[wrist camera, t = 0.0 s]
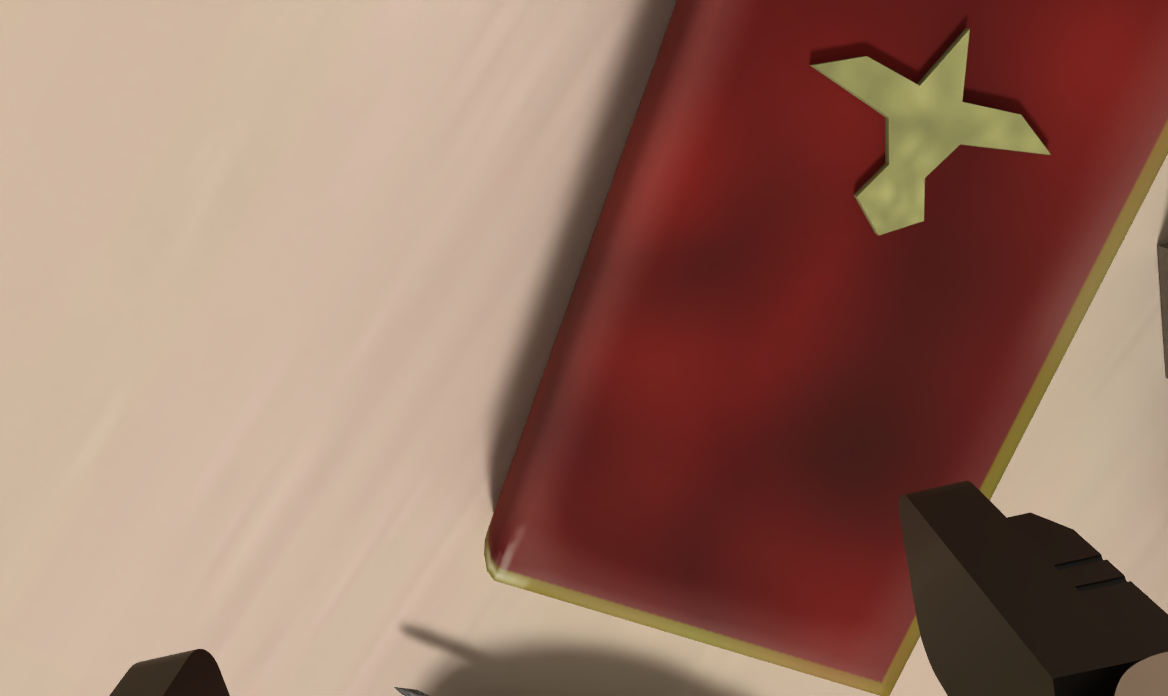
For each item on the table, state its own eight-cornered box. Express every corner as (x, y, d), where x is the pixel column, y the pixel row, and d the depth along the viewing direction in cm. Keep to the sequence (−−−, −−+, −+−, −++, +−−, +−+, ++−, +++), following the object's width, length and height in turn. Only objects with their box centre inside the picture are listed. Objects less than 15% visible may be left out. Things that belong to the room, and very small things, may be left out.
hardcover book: (489, 509, 30) (478, 581, 26) (749, -223, 25) (786, -274, 20) (849, 619, 32) (891, 704, 28) (1175, -49, 26) (1287, -65, 22)
